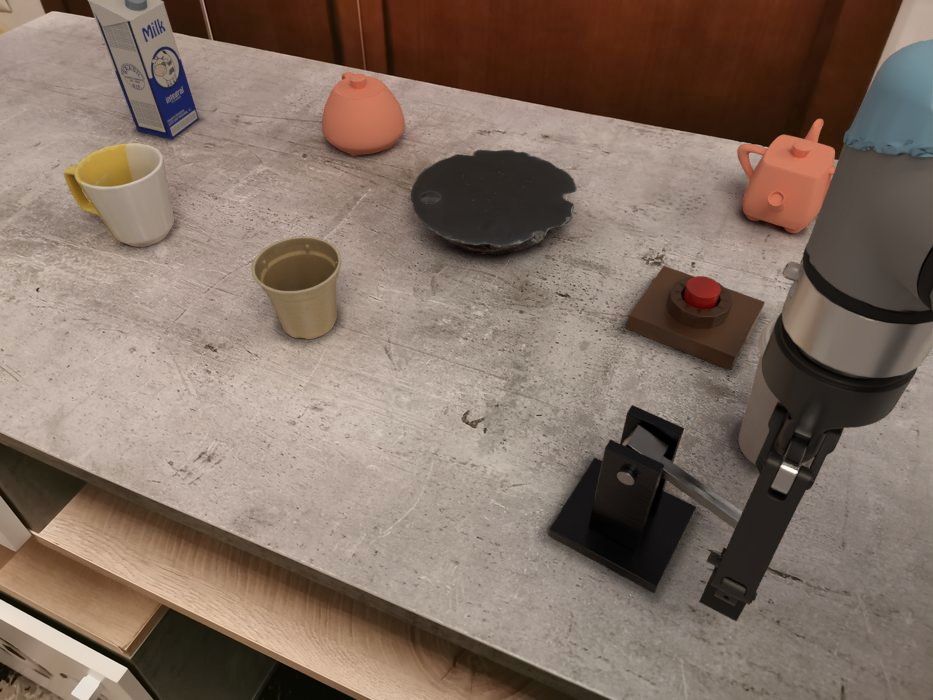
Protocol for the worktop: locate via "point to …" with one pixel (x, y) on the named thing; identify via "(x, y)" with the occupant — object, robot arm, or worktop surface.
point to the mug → (125, 192)
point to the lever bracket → (627, 507)
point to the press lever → (682, 476)
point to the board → (493, 200)
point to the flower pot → (300, 283)
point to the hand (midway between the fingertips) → (749, 535)
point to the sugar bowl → (362, 115)
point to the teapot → (788, 179)
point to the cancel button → (702, 292)
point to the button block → (695, 319)
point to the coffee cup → (758, 407)
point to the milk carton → (147, 64)
